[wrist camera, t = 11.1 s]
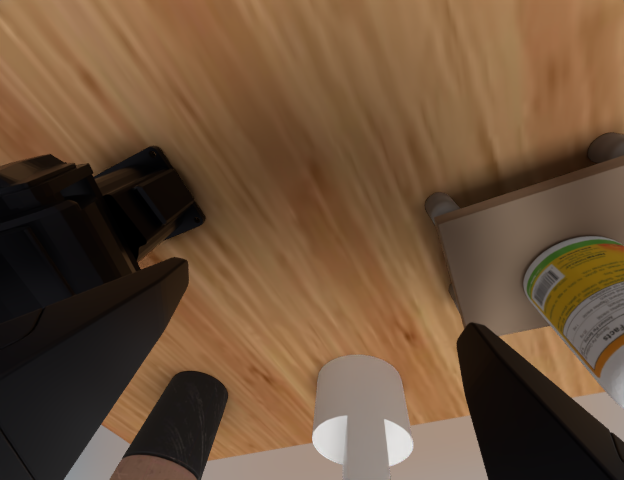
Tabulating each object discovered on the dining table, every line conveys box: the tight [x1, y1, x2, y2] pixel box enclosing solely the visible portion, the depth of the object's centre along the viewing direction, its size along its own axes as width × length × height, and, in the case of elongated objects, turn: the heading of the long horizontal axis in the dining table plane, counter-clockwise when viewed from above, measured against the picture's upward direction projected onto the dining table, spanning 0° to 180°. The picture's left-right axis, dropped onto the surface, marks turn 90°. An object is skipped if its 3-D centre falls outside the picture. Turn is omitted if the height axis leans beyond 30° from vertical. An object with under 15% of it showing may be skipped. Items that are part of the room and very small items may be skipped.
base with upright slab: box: [312, 355, 413, 480], centre depth 26 cm, size 9×9×12 cm
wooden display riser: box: [425, 133, 624, 336], centre depth 19 cm, size 12×10×4 cm
